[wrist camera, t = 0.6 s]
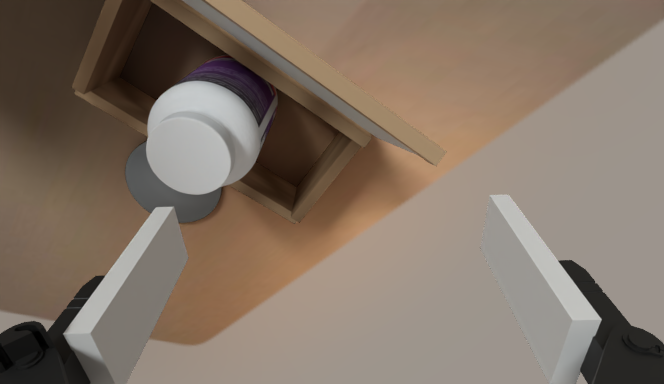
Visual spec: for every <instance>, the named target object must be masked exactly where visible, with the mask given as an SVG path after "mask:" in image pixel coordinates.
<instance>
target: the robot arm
mask: <svg viewBox="0 0 664 384" xmlns="http://www.w3.org/2000/svg"><path fill="white" fill-rule="evenodd" d="M480 249H481V251H482V253H483V255H484V257H485V259H486V261H487V263H488V265H489V267H490V269H491V271H492V273H493V274H494V276H495V279H496V280H497V283H498V284H499V286H500V288H501V290H502V292H503V294H504V296H505V298H506V300H507V302H508V304H509V306H510V308H511V310H512V312H513V314H514V316H515V318H516V320H517V322H518V324H519V326H520V328H521V330H522V332H523V334H524V336H525V338H526V340H527V342H528V344H529V346H530V348H531V350H532V352H533V354H534V356H535V358H536V360H537V362H538V363H539V365H540V367H541V369H542V371H543V373H544V375H545V377H546V379H547V381H548V383H549V384H576V382H577V379H578V377H579V375H580V372H581V373H582V374H583V376H584V378H585V379H586V381H587V383H588V384H664V344H663V343H662V342H661V341H660V340H659V339H658V338H656V337H655V336H654V335H653V334H651V333H649V332H647V331H645V330H643V329H640V328H637V327H634V326H631V325H630V324H629V322H628V321H627V320H626V319H625V317H624V316H623V315H622V314H621V312H620V311H619V310H618V309H617V308H616V306H615V305H614V304H613V303H612V301H611V300H610V299H609V298H608V297H607V296H606V294H605V293H603V292H602V289H601V288H600V287H599V285H598V284H595V281H594V279H593V278H592V277H591V276H590V274H589V273H588V272H587V271H586V270H585V269H584V268H582V267H581V266H579V265H578V264H576V263H575V262H573V261H572V260H563V261H558V260H557V259H556V258H555V256H554V255H553V254H552V252H551V251H550V250H549V248H548V247H547V246H546V244H545V243H544V242H543V240H542V239H541V238H540V236H539V235H538V234H537V232H536V231H535V229H534V228H533V227H532V225H531V224H530V223H529V221H528V220H527V219H526V217H525V216H524V215H523V214H522V212H521V211H520V209H519V208H518V207H517V205H516V204H515V203H514V201H513V200H512V199H511V197H510V196H509V195H490V196H489V202H488V208H487V213H486V220H485V226H484V231H483V237H482V242H481V248H480ZM187 260H188V255H187V251H186V248H185V244H184V241H183V237H182V233H181V230H180V226H179V223H178V219H177V216H176V212H175V209H174V207H156V208H155V209H154V210H153V212H152V213H151V215H150V216H149V217H148V219H147V220H146V221H145V223H144V224H143V226H142V227H141V228H140V230H139V231H138V232H137V234H136V235H135V236H134V238H133V239H132V241H131V242H130V243H129V245H128V246H127V247H126V249H125V250H124V251H123V253H122V254H121V256H120V257H119V258H118V260H117V261H116V262H115V264H114V265H113V266H112V268H111V269H110V271H109V272H108V273H107V275H106V276H95V277H94V278H93V279H91V280H90V281H89V282H88V283H86V284H85V285H84V286H82V288H81V289H80V290H79V292H78V293H77V294H76V295H75V297H74V300H72V301H71V302H70V303H69V304H68V306H67V309H65V310H64V311H63V312H62V313H61V315H60V316H59V317H58V319H57V320H56V321H55V322H54V324H53V325H52V326H51V327H50V329H49V330H48V331H47V332H46V330H45V328H44V326H43V325H42V324H41V323H39V322H35V321H31V322H24V323H21V324H18V325H15V326H13V327H11V328H9V329H7V330H6V331H4V332H3V333H1V334H0V384H126V383H127V381H128V379H129V377H130V375H131V373H132V371H133V369H134V367H135V365H136V363H137V361H138V359H139V357H140V355H141V353H142V351H143V349H144V347H145V345H146V343H147V341H148V339H149V337H150V335H151V333H152V331H153V329H154V327H155V325H156V323H157V321H158V319H159V317H160V315H161V313H162V311H163V309H164V307H165V305H166V303H167V301H168V299H169V297H170V294H171V292H172V290H173V288H174V286H175V284H176V282H177V280H178V278H179V276H180V274H181V272H182V270H183V268H184V266H185V264H186V262H187Z"/></svg>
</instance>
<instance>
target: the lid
mask: <svg viewBox="0 0 664 384" xmlns="http://www.w3.org/2000/svg"><path fill="white" fill-rule="evenodd" d="M182 1H184V2H185V3H186V4H188V5H189V6H191V7H192V8H194V9H195V10H196V11H198V12H199V13H201V14H202V15H204V16H205V17H206V18H208V19H209V20H211V21H212V22H213V23H215V24H216V25H218V26H219V27H221V28H222V29H223V30H225V31H226V32H228V33H229V34H230V35H232V36H233V37H235V38H236V39H238V40H239V41H240V42H242V43H243V44H245V45H246V46H247V47H249V48H250V49H252V50H253V51H255V52H256V53H257V54H259V55H260V56H262V57H263V58H264V59H266V60H267V61H269V62H270V63H272V64H273V65H274V66H276V67H277V68H279V69H280V70H282V71H283V72H284V73H286V74H287V75H289V76H290V77H291V78H293V79H294V80H296V81H297V82H299V83H300V84H301V85H303V86H304V87H306V88H307V89H308V90H310V91H311V92H313V93H314V94H316V95H317V96H318V97H320V98H321V99H323V100H324V101H325V102H327V103H328V104H330V105H331V106H333V107H334V108H335V109H337V110H338V111H340V112H341V113H343V114H344V115H345V116H347V117H348V118H350V119H351V120H352V121H354V122H355V123H357V124H358V125H360V126H361V127H362V128H364V129H365V130H367V131H368V132H369V133H371V134H372V135H374V136H375V137H377V138H379V139H381V140H383V141H386V142H388V143H390V144H393V145H395V146H397V147H400V148H402V149H405V150H407V151H409V152H412V153H414V154H416V155H419V156H420V157H421V158H423V159H424V160H426V161H427V162H428V163H430V164H433V165H435V166H437V165H438V163H439V162H440V161H441V159H442V158H443V156H444V155H445V154H446V152H447V151H445V150H444V149H443V148H441V147H440V146H439V145H437V144H436V143H435V142H433V141H432V140H430V139H429V138H428V137H426V136H425V135H424V134H422V133H421V132H420V131H418V130H417V129H416V128H414V127H413V126H411V125H410V124H409V123H407V122H406V121H405V120H403V119H402V118H401V117H399V116H398V115H397V114H395V113H394V112H392V111H391V110H390V109H388V108H387V107H386V106H384V105H383V104H382V103H380V102H379V101H378V100H376V99H375V98H374V97H372V96H371V95H369V94H368V93H367V92H365V91H364V90H363V89H361V88H360V87H359V86H357V85H356V84H355V83H353V82H352V81H350V80H349V79H348V78H346V77H345V76H344V75H342V74H341V73H340V72H338V71H337V70H336V69H334V68H333V67H331V66H330V65H329V64H327V63H326V62H325V61H323V60H322V59H321V58H319V57H318V56H317V55H315V54H314V53H312V52H311V51H310V50H308V49H307V48H306V47H304V46H303V45H302V44H300V43H299V42H298V41H296V40H295V39H293V38H292V37H291V36H289V35H288V34H287V33H285V32H284V31H283V30H281V29H280V28H279V27H277V26H276V25H274V24H273V23H272V22H270V21H269V20H268V19H266V18H265V17H264V16H262V15H261V14H260V13H258V12H257V11H255V10H254V9H253V8H251V7H250V6H249V5H247V4H246V3H245V2H243V1H242V0H182Z"/></svg>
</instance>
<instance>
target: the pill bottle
mask: <svg viewBox="0 0 664 384" xmlns="http://www.w3.org/2000/svg"><path fill="white" fill-rule="evenodd" d="M277 107H278V96H277V91H276V88H275V86H274V85H272V84H271V83H269V82H268V81H266V80H265V79H263V78H262V77H260V76H259V75H258V74H256V73H255V72H253V71H252V70H250V69H249V68H247V67H246V66H244V65H243V64H242V63H240V62H239V61H237V60H236V59H234V58H233V57H231V56H230V55H229V54H228V55H221V56H217V57H215V58H212V59H210V60H208V61H207V62H205V63H204V64H203V65H201V66H200V67H199V68H197V69H196V70H194V71H193V72H192V73H190V74H189V75H188V76H186V77H185V78H183V79H182V80H181V81H179V82H178V83H176V84H175V85H174V86H172V87H171V88H169V89H168V90H167V91H166V92H164V93H163V94H162V95H161V96H160V97H159V98H158V100H157V101H156V102H155V104H154V105H153V107H152V109H151V111H150V114H149V118H148V125H147V131H148V139H147V144H146V155H147V159H148V162H149V164H150V167H151V169H152V170H153V172H154V173H155V174H156V176H157V177H158V178H159V179H160V180H161V181H162V182H163V183H165V184H166V185H167V186H169V187H171V188H172V189H174V190H176V191H179V192H182V193H186V194H193V195H200V194H206V193H210V192H212V191H214V190H216V189H218V188H219V187H222V186H226V185H229V184H232V183H234V182H236V181H238V180H239V179H241V178H242V177H244V176H245V175H246V174H247V173H248V172H249V171H250V169H251V168H252V167H253V165H254V163H255V162H256V159H257V158H258V155H259V152H260V150H261V148H262V145H263V143H264V141H265V138H266V136H267V134H268V132H269V129H270V127H271V125H272V123H273V121H274V118H275V115H276V112H277Z"/></svg>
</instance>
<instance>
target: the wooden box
mask: <svg viewBox="0 0 664 384" xmlns="http://www.w3.org/2000/svg"><path fill="white" fill-rule="evenodd" d="M152 3H154V4H156V5H157V6H159V7H160V8H162V9H163V10H165V11H166V12H168V13H169V14H170V15H172V16H173V17H175V18H176V19H178V20H179V21H181V22H182V23H184V24H185V25H186V26H188V27H189V28H191V29H192V30H194V31H195V32H197V33H198V34H199V35H201V36H202V37H204V38H205V39H207V40H208V41H210V42H211V43H213V44H214V45H215V46H217V47H218V48H220V49H221V50H223V51H224V52H226V53H227V54H229V55H230V56H231V57H233V58H234V59H236V60H237V61H239V62H240V63H242V64H243V65H244V66H246V67H247V68H249V69H250V70H252V71H253V72H255V73H256V74H258V75H259V76H260V77H262V78H263V79H265V80H266V81H268V82H269V83H271V84H272V85H274V86H275V87H276V88H278V89H279V90H281V91H282V92H284V93H285V94H287V95H288V96H289V97H291V98H292V99H294V100H295V101H297V102H298V103H300V104H301V105H303V106H304V107H305V108H307V109H308V110H310V111H311V112H313V113H314V114H316V115H317V116H318V117H320V118H321V119H323V120H324V121H326V122H327V123H329V124H330V125H332V126H333V127H334V128H336V129H337V130H339V131H340V132H339V133H338V134H337V136H336V137H335V138H334V139H333V141H332V142H331V143H330V145H329V146H328V147H327V149H326V150H325V151H324V153H323V154H322V155H321V156H320V158H319V159H318V160H317V162H316V163H315V164H314V166H313V167H312V168H311V169H310V171H309V172H308V173H307V175H306V176H305V177H304V179H303V180H302V181H301V183H300V184H299V185H298V186H297V187H295V186H294V185H292V184H290V183H289V182H287V181H286V180H284V179H282V178H281V177H279V176H277V175H276V174H274V173H273V172H271V171H269V170H268V169H266V168H265V167H263V166H261V165H260V164H258V163H257V162H255V163H254V165H253V167H252V168H251V169H250V171H249V172H248V173H247V174H246V175H245V176H244V177H242V178H241V179H239V180H238V181H236V182H234V183H232V184H229V186H231V187H233V188H235V189H236V190H238V191H240V192H241V193H243V194H245V195H246V196H248V197H250V198H251V199H253V200H255V201H256V202H258V203H260V204H262V205H263V206H265V207H267V208H268V209H270V210H272V211H273V212H275V213H277V214H278V215H280V216H282V217H284V218H285V219H287V220H289V221H290V222H292V223H294V224H295V223H296V222H299V223H300V221H301V220H302V219H303V218H304V216H305V215H306V214H307V213H308V211H309V210H310V209H311V208H312V207H313V205H314V204H315V203H316V202H317V200H318V199H319V198H320V197H321V195H322V194H323V193H324V192H325V191H326V189H327V188H328V187H329V186H330V184H331V183H332V182H333V181H334V179H335V178H336V177H337V176H338V174H339V173H340V172H341V171H342V170H343V168H344V167H345V166H346V165H347V163H348V162H349V161H350V160H351V158H352V157H353V156H354V155H355V154H356V152H357V151H358V150H359V149H360V147H361V146H362V147H363V148H365V146H366V145H367V144H368V143H369V142H370V140H371V139H372V138H371V133H369V132H368V131H367V130H365V129H364V128H362V127H361V126H360V125H358V124H357V123H355V122H354V121H352V120H351V119H350V118H348V117H347V116H345V115H344V114H343V113H341V112H340V111H338V110H337V109H335V108H334V107H333V106H331V105H330V104H328V103H327V102H325V101H324V100H323V99H321V98H320V97H318V96H317V95H316V94H314V93H313V92H311V91H310V90H308V89H307V88H306V87H304V86H303V85H301V84H300V83H299V82H297V81H296V80H294V79H293V78H291V77H290V76H289V75H287V74H286V73H284V72H283V71H282V70H280V69H279V68H277V67H276V66H274V65H273V64H272V63H270V62H269V61H267V60H266V59H264V58H263V57H262V56H260V55H259V54H257V53H256V52H255V51H253V50H252V49H250V48H249V47H247V46H246V45H245V44H243V43H242V42H240V41H239V40H238V39H236V38H235V37H233V36H232V35H230V34H229V33H228V32H226V31H225V30H223V29H222V28H221V27H219V26H218V25H216V24H215V23H213V22H212V21H211V20H209V19H208V18H206V17H205V16H204V15H202V14H201V13H199V12H198V11H196V10H195V9H194V8H192V7H191V6H189V5H188V4H186V3H185V2H184V1H182V0H105V3H104V5H103V8H102V10H101V13H100V15H99V18H98V20H97V23H96V25H95V28H94V31H93V33H92V36H91V38H90V41H89V43H88V46H87V48H86V51H85V54H84V56H83V59H82V61H81V64H80V66H79V69H78V71H77V74H76V77H75V79H74V82H73V84H72V88H73V89H75V90H76V92H75V94H76V95H77V96H79V97H81V98H82V99H84V100H86V101H87V102H89V103H91V104H92V105H94V106H96V107H98V108H99V109H101V110H103V111H104V112H106V113H108V114H109V115H111V116H113V117H114V118H116V119H118V120H119V121H121V122H123V123H125V124H126V125H128V126H130V127H131V128H133V129H135V130H136V131H138V132H140V133H141V134H143V135H145V136H147V137H148V131H147V125H148V118H149V114H150V111H151V109H152V107H153V105H154V104H155V102H156V101H157V100H155V99H153V98H152V97H150V96H149V95H147V94H145V93H144V92H142V91H141V90H139V89H137V88H136V87H134V86H133V85H131V84H129V83H128V82H126V81H125V80H123V79H121V78H120V74H121V72H122V70H123V68H124V65H125V63H126V61H127V59H128V56H129V54H130V52H131V50H132V47H133V45H134V43H135V41H136V39H137V36H138V34H139V32H140V30H141V27H142V25H143V23H144V21H145V18H146V16H147V14H148V12H149V9H150V7H151V5H152Z"/></svg>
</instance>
